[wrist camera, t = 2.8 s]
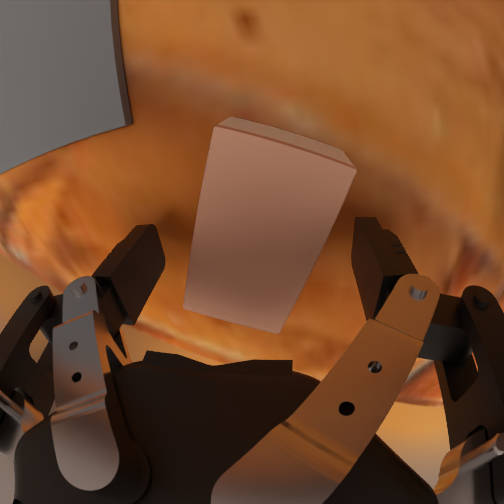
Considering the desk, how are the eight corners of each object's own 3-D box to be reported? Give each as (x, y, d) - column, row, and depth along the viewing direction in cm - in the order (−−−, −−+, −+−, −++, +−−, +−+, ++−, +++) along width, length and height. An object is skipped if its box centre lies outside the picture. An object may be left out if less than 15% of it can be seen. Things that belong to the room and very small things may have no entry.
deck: (340, 148, 10) (357, 170, 8) (281, 290, 15) (278, 334, 12) (232, 115, 10) (214, 126, 8) (199, 268, 15) (182, 308, 12)
